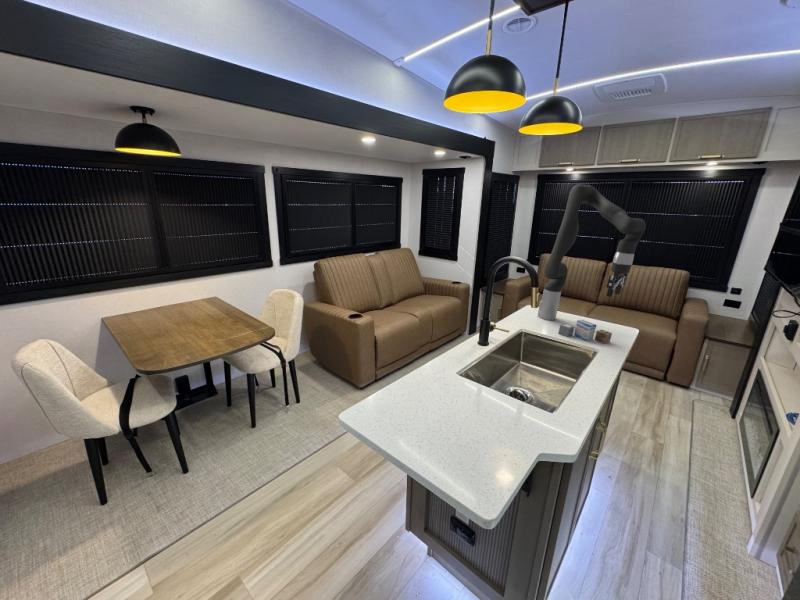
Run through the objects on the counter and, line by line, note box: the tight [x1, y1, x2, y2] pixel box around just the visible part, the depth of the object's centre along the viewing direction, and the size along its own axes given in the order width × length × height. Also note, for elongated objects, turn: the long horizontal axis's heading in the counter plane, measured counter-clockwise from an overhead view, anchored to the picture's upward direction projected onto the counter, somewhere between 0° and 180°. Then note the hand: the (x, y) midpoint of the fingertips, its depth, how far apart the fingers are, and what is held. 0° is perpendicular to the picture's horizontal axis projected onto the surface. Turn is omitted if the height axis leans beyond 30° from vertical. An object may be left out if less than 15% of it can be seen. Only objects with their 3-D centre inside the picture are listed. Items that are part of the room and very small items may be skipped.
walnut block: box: [594, 329, 613, 345], centre depth 160 cm, size 5×5×5 cm
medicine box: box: [573, 319, 597, 342], centre depth 162 cm, size 8×4×9 cm, turn 25°
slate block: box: [558, 323, 576, 338], centre depth 166 cm, size 5×5×5 cm
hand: (613, 295), depth 154 cm, fingers open, 8 cm apart
